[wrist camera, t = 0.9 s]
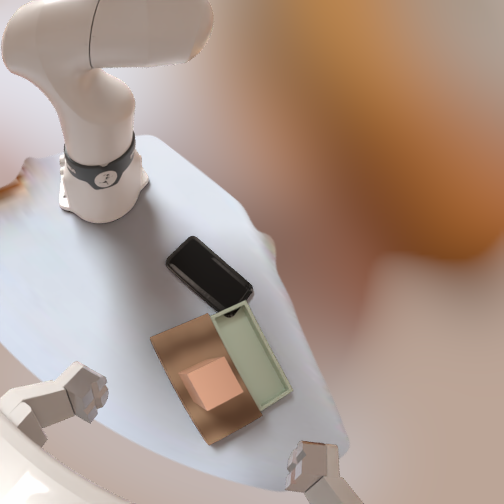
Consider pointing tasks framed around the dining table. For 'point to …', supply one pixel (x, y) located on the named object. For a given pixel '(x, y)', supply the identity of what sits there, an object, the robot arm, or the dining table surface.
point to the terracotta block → (210, 382)
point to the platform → (191, 353)
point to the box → (252, 355)
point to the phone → (209, 275)
